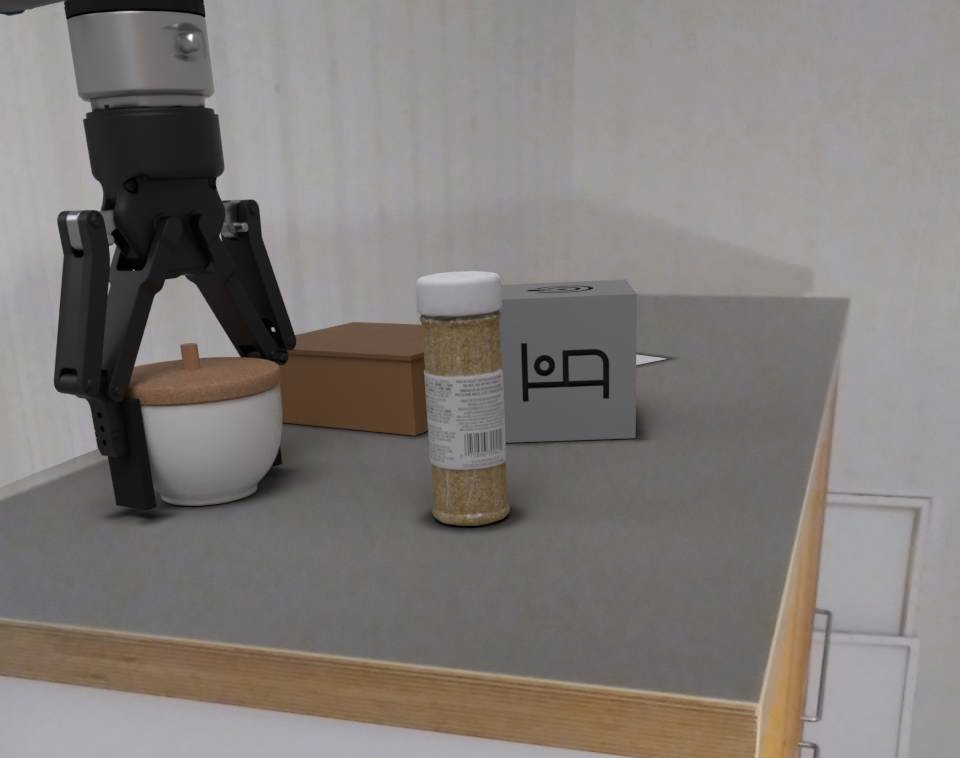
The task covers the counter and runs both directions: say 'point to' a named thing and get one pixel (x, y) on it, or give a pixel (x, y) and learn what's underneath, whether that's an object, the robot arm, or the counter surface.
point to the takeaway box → (357, 378)
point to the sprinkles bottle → (464, 395)
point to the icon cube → (569, 360)
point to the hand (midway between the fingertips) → (203, 483)
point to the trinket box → (209, 424)
